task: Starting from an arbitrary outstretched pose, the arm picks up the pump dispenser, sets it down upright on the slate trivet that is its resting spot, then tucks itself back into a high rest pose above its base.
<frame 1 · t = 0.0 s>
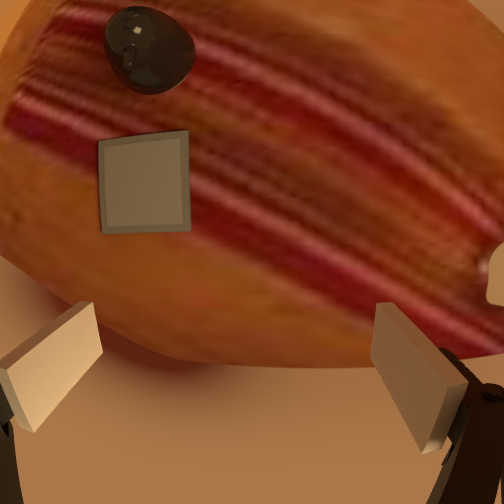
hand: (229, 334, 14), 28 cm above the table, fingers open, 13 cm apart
pump dispenser: (165, 68, 37), on the table
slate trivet: (142, 183, 40), on the table
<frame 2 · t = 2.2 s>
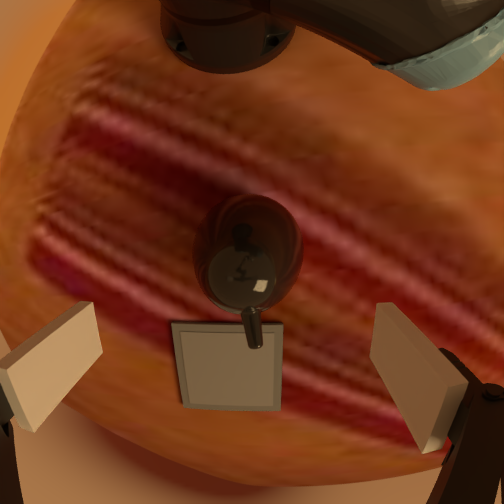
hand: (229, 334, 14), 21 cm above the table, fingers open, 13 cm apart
pump dispenser: (251, 241, 35), on the table
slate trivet: (229, 369, 38), on the table
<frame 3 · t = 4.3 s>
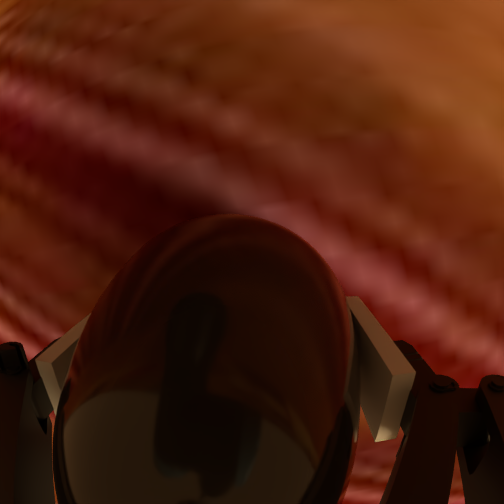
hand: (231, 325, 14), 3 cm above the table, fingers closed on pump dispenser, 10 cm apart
pump dispenser: (237, 302, 17), on the table, touching gripper
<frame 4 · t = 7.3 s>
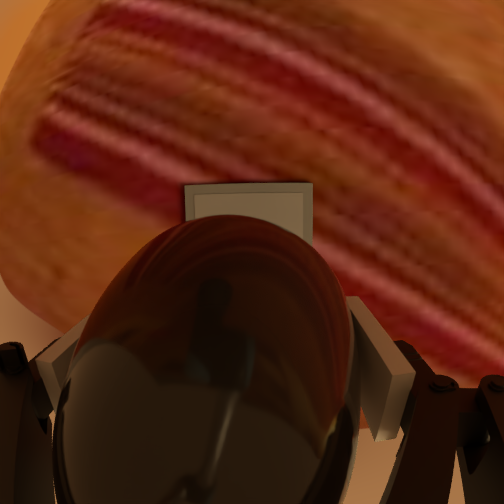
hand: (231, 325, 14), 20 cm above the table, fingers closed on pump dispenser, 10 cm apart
pump dispenser: (237, 303, 17), point 17 cm above the table, touching gripper
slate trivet: (249, 245, 34), on the table
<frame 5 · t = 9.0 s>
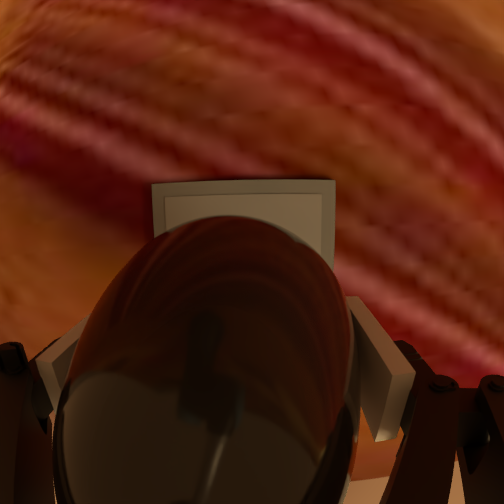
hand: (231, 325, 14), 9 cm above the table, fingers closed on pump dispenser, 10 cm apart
pump dispenser: (237, 303, 17), point 6 cm above the table, touching gripper
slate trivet: (244, 269, 24), on the table
when the fingers open (5 cm above the table, at t = 10.5 s): pump dispenser drops 1 cm, resting on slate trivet.
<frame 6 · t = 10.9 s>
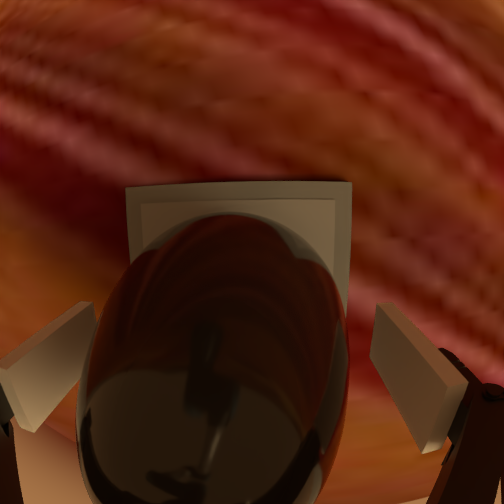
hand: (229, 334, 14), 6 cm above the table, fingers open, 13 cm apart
pump dispenser: (237, 294, 19), point 1 cm above the table, touching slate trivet
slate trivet: (238, 292, 19), on the table
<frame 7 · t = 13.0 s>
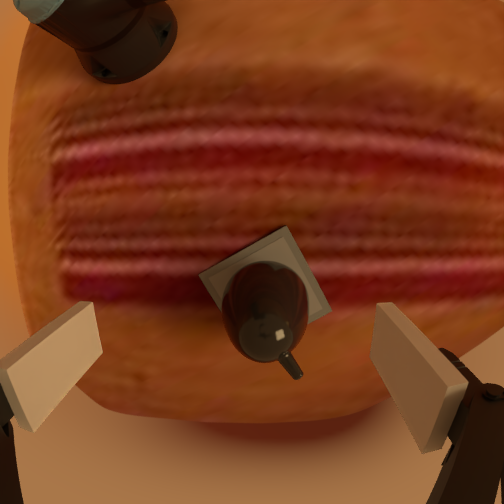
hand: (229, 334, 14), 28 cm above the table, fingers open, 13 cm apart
pump dispenser: (266, 293, 42), point 1 cm above the table, touching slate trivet
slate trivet: (266, 292, 42), on the table
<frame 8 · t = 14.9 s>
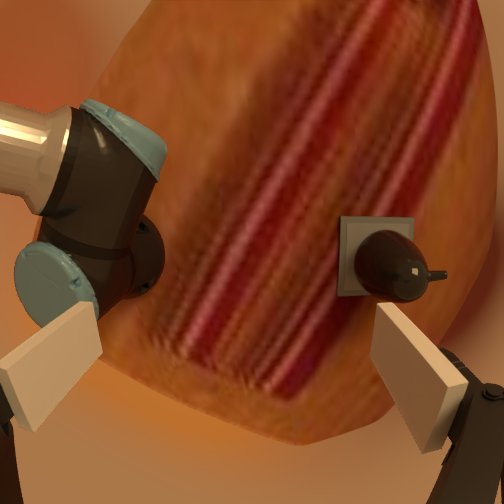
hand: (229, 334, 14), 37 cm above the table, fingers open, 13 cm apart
pump dispenser: (377, 257, 49), point 1 cm above the table, touching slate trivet
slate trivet: (376, 256, 50), on the table
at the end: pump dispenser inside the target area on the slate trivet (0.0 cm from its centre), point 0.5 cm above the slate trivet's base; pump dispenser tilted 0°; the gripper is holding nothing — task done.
